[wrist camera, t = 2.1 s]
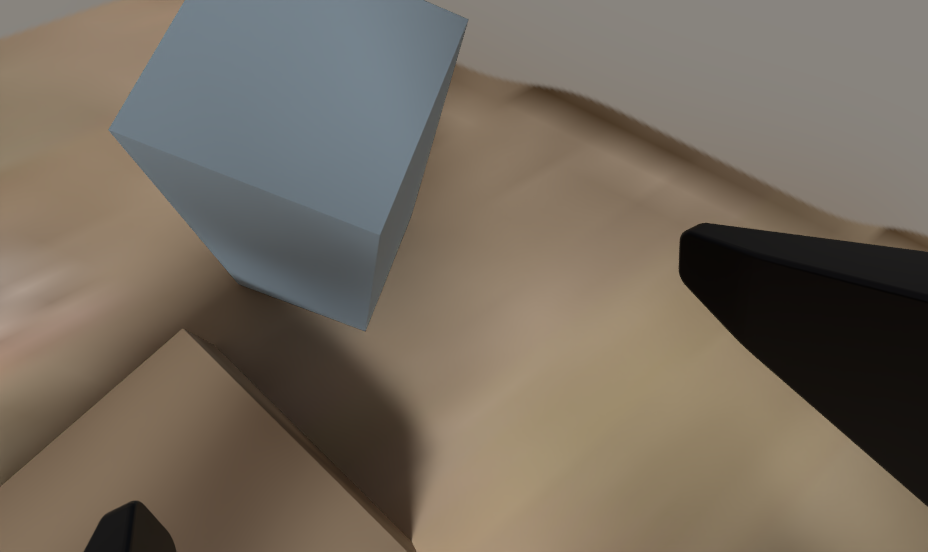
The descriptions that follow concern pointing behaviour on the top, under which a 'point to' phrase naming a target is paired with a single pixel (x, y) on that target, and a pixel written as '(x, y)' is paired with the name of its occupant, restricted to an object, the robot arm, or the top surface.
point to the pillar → (296, 137)
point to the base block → (191, 469)
